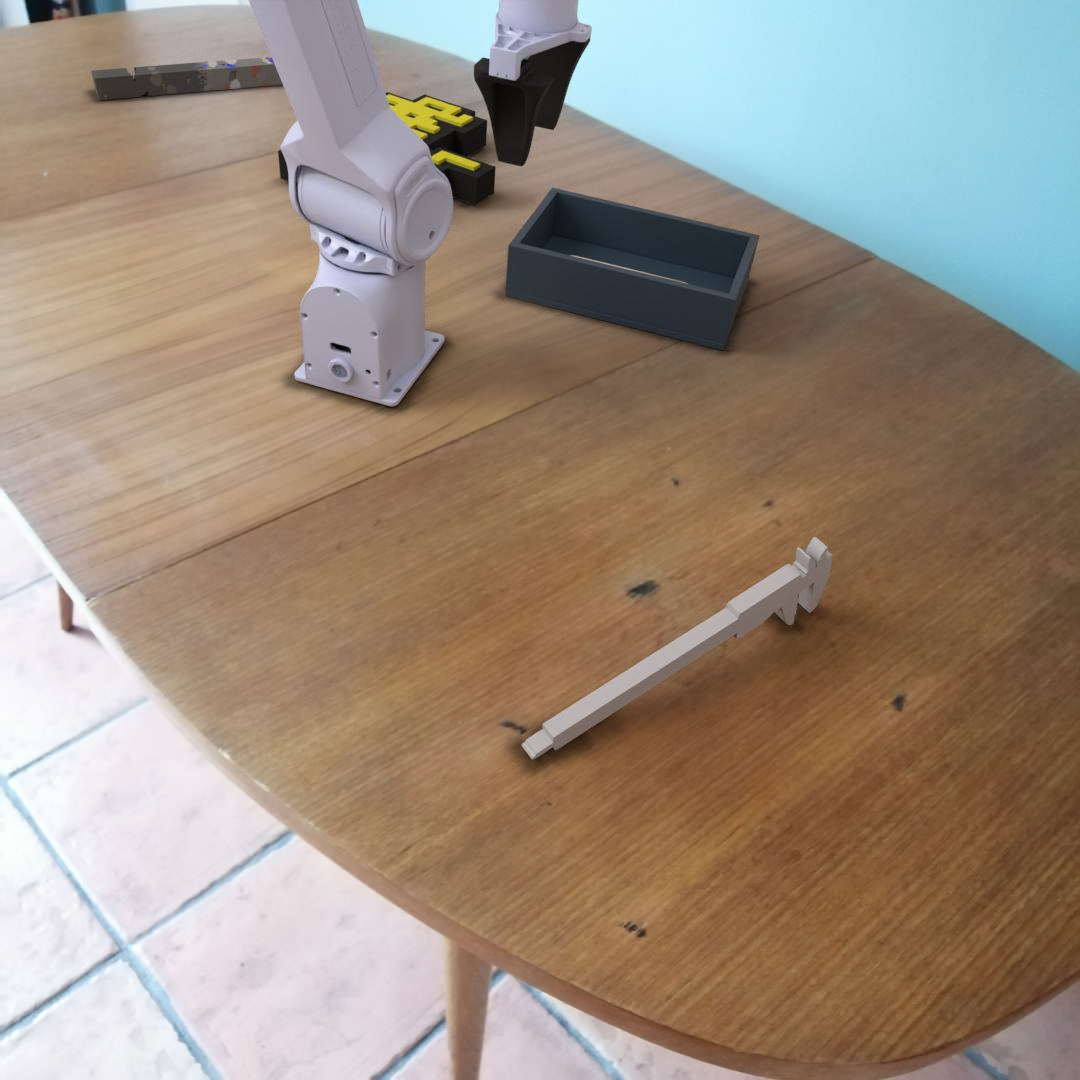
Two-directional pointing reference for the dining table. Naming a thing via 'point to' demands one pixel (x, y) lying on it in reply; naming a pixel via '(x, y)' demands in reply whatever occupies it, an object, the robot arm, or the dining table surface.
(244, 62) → the pillar
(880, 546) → the dining table surface
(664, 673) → the caliper
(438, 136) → the toy
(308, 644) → the dining table surface
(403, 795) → the dining table surface
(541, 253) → the bin
